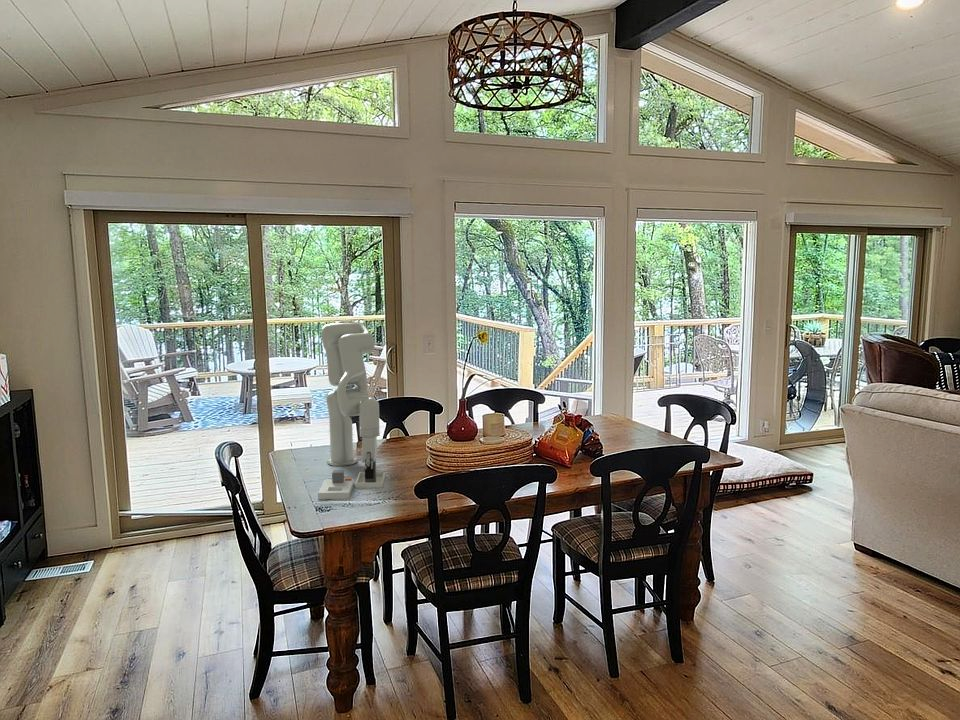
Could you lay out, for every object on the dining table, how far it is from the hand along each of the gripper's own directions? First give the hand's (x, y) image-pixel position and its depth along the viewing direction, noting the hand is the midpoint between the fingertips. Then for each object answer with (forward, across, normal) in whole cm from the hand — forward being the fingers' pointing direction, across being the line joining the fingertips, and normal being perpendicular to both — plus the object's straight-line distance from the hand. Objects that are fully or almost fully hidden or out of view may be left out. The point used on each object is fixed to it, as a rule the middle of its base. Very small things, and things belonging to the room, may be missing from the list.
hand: (370, 474), depth 257 cm
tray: (+4, 0, 0) cm, 4 cm away
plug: (+3, 0, 0) cm, 3 cm away
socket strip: (+4, +10, -12) cm, 16 cm away
